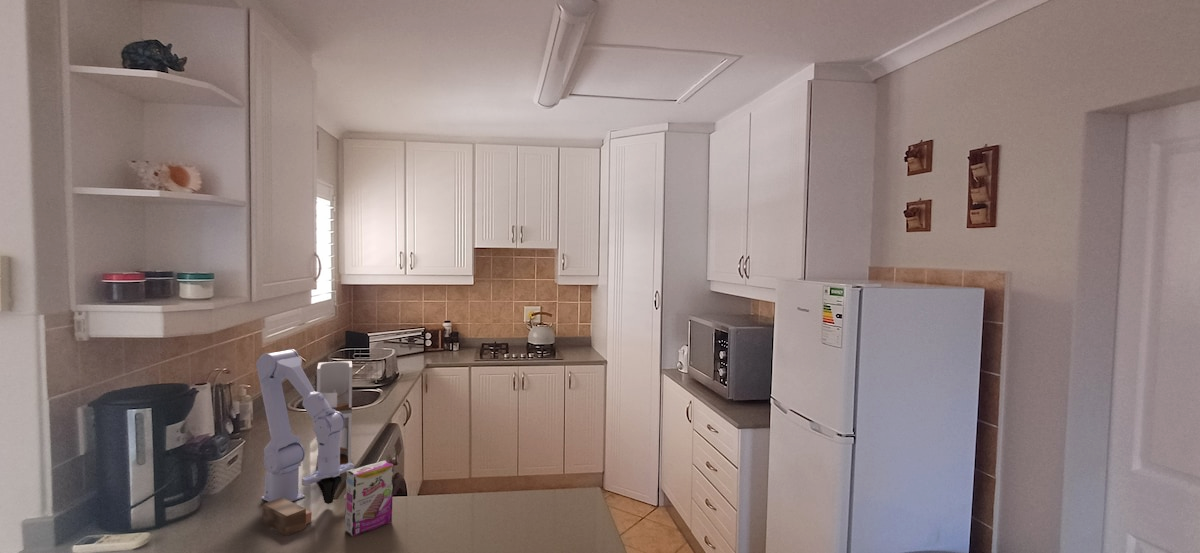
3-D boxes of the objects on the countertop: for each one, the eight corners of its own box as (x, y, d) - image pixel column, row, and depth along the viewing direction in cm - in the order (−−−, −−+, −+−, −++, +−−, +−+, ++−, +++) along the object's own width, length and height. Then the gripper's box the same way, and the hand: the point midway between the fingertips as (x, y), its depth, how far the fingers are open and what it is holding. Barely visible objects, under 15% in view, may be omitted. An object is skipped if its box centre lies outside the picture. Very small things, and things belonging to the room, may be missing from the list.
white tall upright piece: (317, 461, 192) (318, 362, 191) (350, 457, 196) (351, 360, 195) (315, 473, 182) (317, 368, 180) (350, 468, 186) (352, 366, 185)
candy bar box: (353, 538, 141) (354, 475, 140) (344, 531, 144) (344, 470, 144) (393, 522, 150) (394, 463, 149) (383, 516, 153) (384, 459, 152)
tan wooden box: (262, 522, 147) (262, 503, 147) (281, 515, 152) (281, 497, 151) (286, 535, 141) (286, 516, 141) (305, 528, 145) (305, 508, 145)
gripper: (312, 466, 148) (311, 515, 149) (360, 451, 160) (359, 496, 161) (297, 460, 152) (297, 508, 152) (346, 446, 164) (345, 490, 165)
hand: (328, 502), depth 157 cm, fingers closed
